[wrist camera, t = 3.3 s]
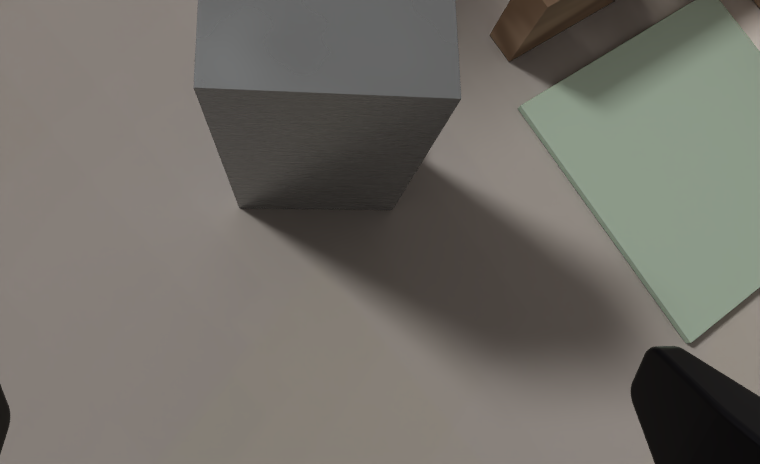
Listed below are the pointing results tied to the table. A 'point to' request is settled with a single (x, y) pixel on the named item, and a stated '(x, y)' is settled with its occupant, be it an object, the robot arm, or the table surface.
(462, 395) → the table surface
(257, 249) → the table surface
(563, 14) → the brown wooden corner wall
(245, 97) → the gray block
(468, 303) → the table surface
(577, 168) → the mat
